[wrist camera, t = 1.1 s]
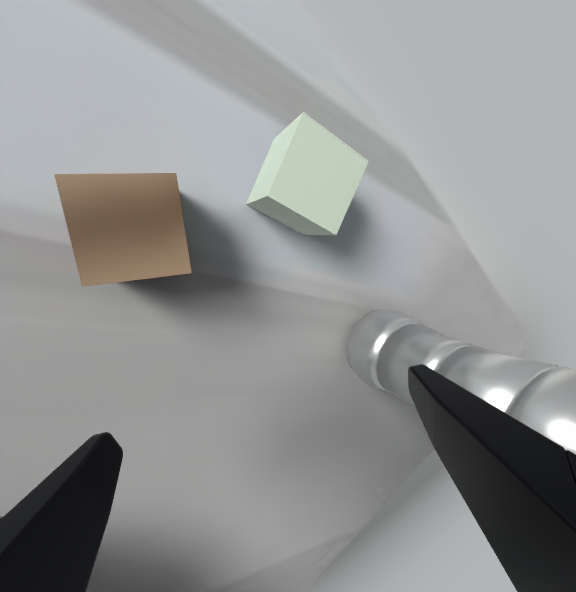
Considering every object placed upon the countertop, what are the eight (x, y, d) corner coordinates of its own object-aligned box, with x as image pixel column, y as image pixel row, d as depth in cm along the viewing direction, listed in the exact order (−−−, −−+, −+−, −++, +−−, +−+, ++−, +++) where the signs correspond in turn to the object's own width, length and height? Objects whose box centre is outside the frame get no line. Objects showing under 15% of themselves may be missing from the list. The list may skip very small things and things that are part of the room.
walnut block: (186, 264, 20) (191, 272, 16) (103, 274, 18) (82, 286, 14) (174, 188, 19) (176, 173, 14) (84, 190, 17) (54, 174, 13)
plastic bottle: (323, 348, 25) (710, 632, 7) (370, 289, 26) (832, 412, 8) (365, 384, 28) (727, 661, 10) (407, 330, 29) (818, 494, 10)
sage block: (303, 235, 23) (336, 235, 18) (245, 204, 21) (267, 195, 16) (328, 175, 23) (368, 161, 18) (273, 139, 21) (303, 112, 16)
